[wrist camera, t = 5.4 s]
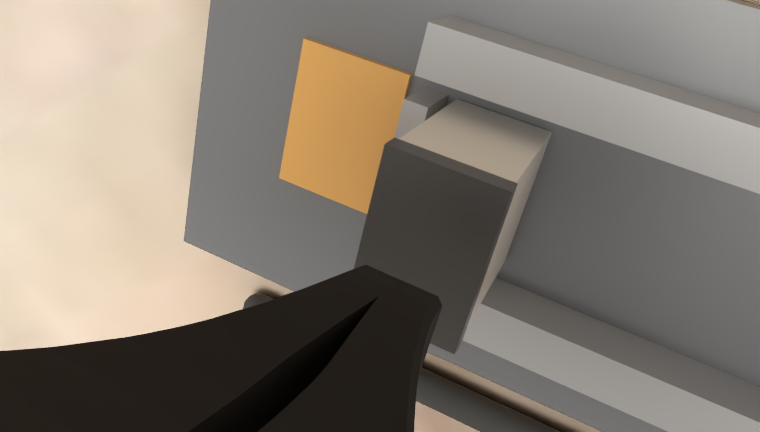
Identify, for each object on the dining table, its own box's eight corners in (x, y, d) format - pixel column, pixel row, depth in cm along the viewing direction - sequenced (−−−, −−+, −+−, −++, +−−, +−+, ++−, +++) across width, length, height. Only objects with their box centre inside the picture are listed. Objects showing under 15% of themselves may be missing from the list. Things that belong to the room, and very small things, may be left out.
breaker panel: (1426, 189, 12) (1624, 257, 9) (1021, 582, 17) (1079, 696, 14) (259, -134, 18) (188, -146, 16) (212, 224, 23) (152, 259, 21)
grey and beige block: (554, 131, 16) (511, 192, 12) (506, 263, 18) (454, 354, 14) (455, 96, 17) (384, 143, 13) (417, 227, 18) (344, 305, 14)
